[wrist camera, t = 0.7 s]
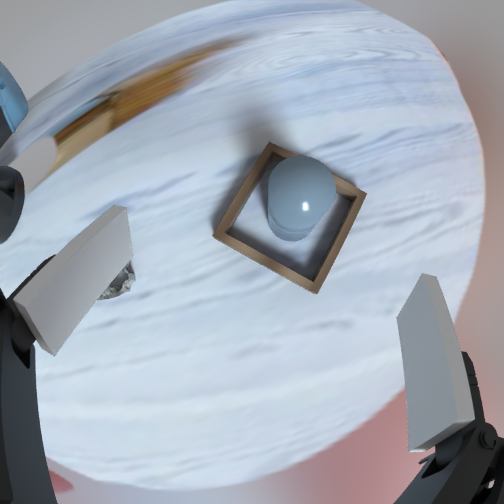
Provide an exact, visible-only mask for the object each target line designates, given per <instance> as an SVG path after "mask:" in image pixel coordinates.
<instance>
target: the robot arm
mask: <svg viewBox="0 0 504 504" xmlns="http://www.w3.org/2000/svg"><path fill="white" fill-rule="evenodd" d="M27 112H28V103H27V100H26V98H25V96H24V94H23V92H22V90H21V88H20V87H19V85H18V83H17V82H16V81H15V79H14V77H13V76H12V75H11V73H10V72H9V71H8V69H7V68H6V67H5V66H4V65H3V64H2V63H1V62H0V148H1V147H2V146H3V144H4V143H5V142H6V141H7V139H8V138H9V137H10V136H11V135H12V133H14V132H15V130H16V128H17V127H18V125H19V124H20V123H21V122H22V120H23V119H24V118H25V117H26V115H27ZM23 202H24V181H23V178H22V176H21V174H20V172H18V171H17V170H15V169H13V168H11V167H8V166H0V244H1V243H3V242H5V241H6V240H7V239H8V238H9V237H10V235H11V234H12V232H13V231H14V229H15V227H16V225H17V223H18V220H19V218H20V215H21V211H22V207H23ZM132 257H133V250H132V244H131V237H130V230H129V223H128V215H127V208H126V207H121V206H115V205H113V206H112V207H111V208H110V209H108V210H107V211H106V212H105V213H103V214H102V215H101V216H100V217H99V218H97V219H96V220H95V221H94V222H93V223H91V224H90V225H89V226H88V227H87V228H86V229H84V230H83V231H82V232H81V233H80V234H79V235H77V236H76V237H75V238H74V239H73V240H72V241H71V242H70V243H69V244H67V245H66V246H65V247H64V248H63V249H62V250H61V251H60V252H59V253H58V254H57V255H53V256H51V257H50V258H48V259H46V260H44V261H43V262H42V263H41V264H40V265H39V266H38V267H37V269H36V270H34V271H33V272H32V273H31V274H30V276H28V277H27V278H26V279H25V280H24V281H23V282H22V283H21V284H20V285H19V286H18V288H17V289H16V290H15V291H14V292H13V293H12V294H11V295H10V296H9V297H8V298H7V299H6V298H5V296H4V294H3V292H2V290H1V288H0V504H57V500H56V497H55V494H54V490H53V486H52V483H51V479H50V475H49V471H48V466H47V462H46V457H45V452H44V447H43V441H42V435H41V428H40V421H39V412H38V403H37V390H36V371H35V347H34V345H33V343H34V342H35V340H37V342H38V343H39V345H40V346H41V348H42V349H43V350H45V351H47V352H48V353H50V354H51V355H53V356H55V355H56V354H57V352H58V351H59V350H60V348H61V347H62V345H63V344H64V343H65V341H66V340H67V338H68V337H69V336H70V334H71V333H72V332H73V330H74V329H75V328H76V326H77V325H78V324H79V322H80V321H81V320H82V318H83V317H84V316H85V315H86V313H87V312H88V311H89V309H90V308H91V307H92V306H93V304H94V303H95V302H96V301H97V299H98V298H99V297H100V296H101V294H102V293H103V292H104V291H105V289H106V288H107V287H108V286H109V285H110V283H111V282H112V281H113V280H114V279H115V277H116V276H117V275H118V274H119V273H120V271H121V270H122V269H123V268H124V267H125V266H126V264H127V263H128V262H129V261H130V260H131V259H132ZM397 324H398V330H399V337H400V344H401V351H402V359H403V368H404V377H405V388H406V400H407V419H408V452H422V451H427V450H428V449H430V448H432V447H433V446H435V453H433V454H431V455H429V456H427V457H426V458H424V459H422V460H421V461H420V462H419V464H422V463H424V462H426V461H427V462H426V463H425V465H424V466H423V468H422V469H421V470H420V472H419V473H418V474H417V476H416V477H415V478H414V480H413V481H412V482H411V483H410V485H409V486H408V487H407V488H406V490H405V491H404V492H403V493H402V495H401V496H400V497H399V498H398V499H397V500H396V501H395V503H394V504H504V438H501V437H498V435H497V432H496V430H495V428H494V427H493V426H492V425H491V424H489V423H486V422H485V418H484V412H483V407H482V401H481V397H480V391H479V387H478V386H477V385H478V383H477V378H476V377H475V375H476V374H475V370H474V366H473V363H472V361H471V359H470V358H469V356H468V354H467V352H462V351H461V350H460V346H459V342H458V339H457V336H456V332H455V329H454V326H453V322H452V319H451V316H450V313H449V310H448V307H447V304H446V301H445V299H444V296H443V293H442V290H441V288H440V285H439V282H438V280H437V277H435V276H431V275H427V274H423V273H422V274H421V276H420V278H419V280H418V282H417V284H416V285H415V287H414V289H413V291H412V293H411V294H410V296H409V298H408V299H407V301H406V303H405V305H404V306H403V308H402V310H401V311H400V313H399V314H398V316H397ZM493 480H495V481H494V484H493V487H492V488H488V486H489V482H491V481H493Z"/></svg>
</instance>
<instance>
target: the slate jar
mask: <svg viewBox="0 0 504 504" xmlns="http://www.w3.org/2000/svg"><path fill="white" fill-rule="evenodd" d="M335 194H336V185H335V181H334V178H333V176H332V174H331V172H330V171H329V170H328V168H327V167H326V166H325V165H324V164H322V163H321V162H319V161H318V160H316V159H314V158H311V157H307V156H293V157H290V158H287V159H285V160H283V161H281V162H280V163H279V164H277V166H276V167H275V168H274V169H273V171H272V172H271V174H270V177H269V182H268V224H269V227H270V229H271V230H272V232H273V233H274V234H275V235H276V236H277V237H279V238H281V239H283V240H286V241H298V240H301V239H303V238H305V237H306V236H307V235H308V234H309V233H310V232H311V231H312V229H313V228H314V227H315V226H316V224H317V223H318V222H319V221H320V219H321V218H322V217H323V216H324V214H325V213H326V212H327V211H328V209H329V208H330V207H331V205H332V204H333V201H334V199H335Z"/></svg>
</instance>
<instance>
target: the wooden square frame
mask: <svg viewBox="0 0 504 504" xmlns="http://www.w3.org/2000/svg"><path fill="white" fill-rule="evenodd" d="M293 156H298V155H296V154H294V153H292V152H290V151H288V150H286V149H283V148H281V147H279V146H277V145H275V144H273V143H271V142H269V143H268V144H267V146H266V148H265V149H264V151H263V152H262V154H261V156H260V157H259V159H258V160H257V162H256V164H255V165H254V167H253V168H252V170H251V172H250V173H249V175H248V177H247V178H246V180H245V181H244V183H243V185H242V186H241V188H240V190H239V191H238V193H237V195H236V196H235V198H234V200H233V201H232V203H231V205H230V206H229V208H228V210H227V212H226V213H225V215H224V217H223V218H222V220H221V222H220V223H219V225H218V227H217V229H216V230H215V232H214V234H213V235H212V236H213V237H214V238H215V239H216V240H218V241H220V242H222V243H224V244H225V245H227V246H229V247H231V248H233V249H234V250H236V251H238V252H240V253H242V254H243V255H245V256H247V257H249V258H250V259H252V260H254V261H256V262H258V263H259V264H261V265H263V266H265V267H267V268H268V269H270V270H272V271H274V272H276V273H277V274H279V275H281V276H283V277H285V278H286V279H288V280H290V281H292V282H294V283H295V284H297V285H299V286H301V287H303V288H305V289H306V290H308V291H310V292H312V293H314V294H318V292H319V290H320V288H321V286H322V284H323V282H324V281H325V279H326V277H327V275H328V273H329V271H330V269H331V267H332V265H333V263H334V261H335V259H336V257H337V255H338V253H339V251H340V249H341V247H342V245H343V243H344V241H345V239H346V237H347V235H348V233H349V231H350V229H351V227H352V225H353V223H354V221H355V219H356V216H357V214H358V212H359V210H360V208H361V206H362V204H363V201H364V199H365V197H366V195H367V193H365V192H363V191H362V190H360V189H358V188H357V187H355V186H353V185H351V184H350V183H348V182H346V181H344V180H343V179H341V178H339V177H337V176H336V175H334V174H332V173H331V174H332V176H333V178H334V181H335V185H336V193H338V194H339V195H341V196H343V197H345V198H346V199H348V200H350V201H352V202H351V204H350V207H349V209H348V211H347V213H346V215H345V217H344V219H343V221H342V223H341V225H340V227H339V229H338V231H337V233H336V235H335V237H334V239H333V241H332V243H331V245H330V247H329V249H328V251H327V253H326V255H325V257H324V259H323V260H322V262H321V264H320V266H319V268H318V270H317V272H316V274H315V276H314V277H313V279H312V281H310V280H309V279H307V278H305V277H303V276H301V275H300V274H298V273H296V272H294V271H292V270H291V269H289V268H287V267H285V266H283V265H282V264H280V263H278V262H276V261H274V260H273V259H271V258H269V257H267V256H265V255H264V254H262V253H260V252H258V251H256V250H255V249H253V248H251V247H249V246H247V245H246V244H244V243H242V242H240V241H238V240H236V239H235V238H233V237H231V236H229V235H227V234H228V233H229V231H230V229H231V228H232V226H233V224H234V222H235V221H236V219H237V217H238V216H239V214H240V212H241V210H242V209H243V207H244V205H245V204H246V202H247V200H248V198H249V197H250V195H251V193H252V192H253V190H254V188H255V187H256V185H257V183H258V182H259V180H260V178H261V177H262V175H263V173H264V172H265V170H266V168H267V167H268V165H269V163H270V162H271V160H272V159H273V160H275V161H277V162H279V163H280V162H281V161H283V160H285V159H287V158H290V157H293Z"/></svg>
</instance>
